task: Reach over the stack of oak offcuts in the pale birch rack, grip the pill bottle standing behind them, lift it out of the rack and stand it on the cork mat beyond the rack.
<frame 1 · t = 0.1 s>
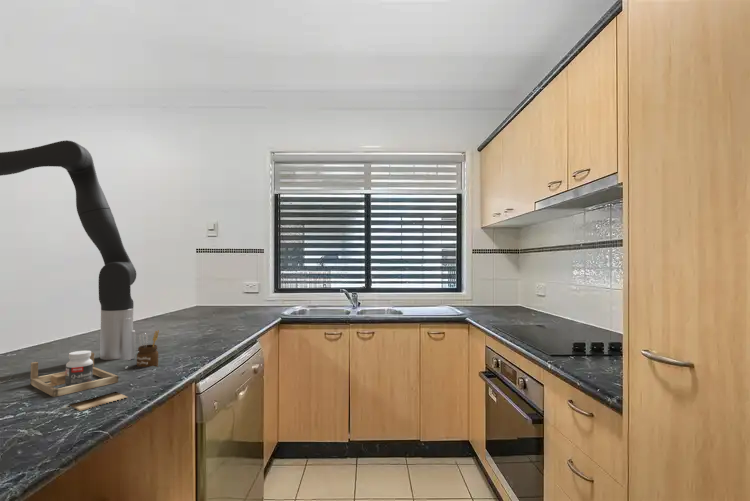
utensil holder: (147, 369, 123), on the counter
offcut bottom: (69, 388, 106), on the counter
pill bottle: (78, 391, 103), on the counter
offcut top: (69, 380, 106), point 1 cm above the counter
rack: (74, 388, 104), on the counter
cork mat: (95, 400, 96), on the counter
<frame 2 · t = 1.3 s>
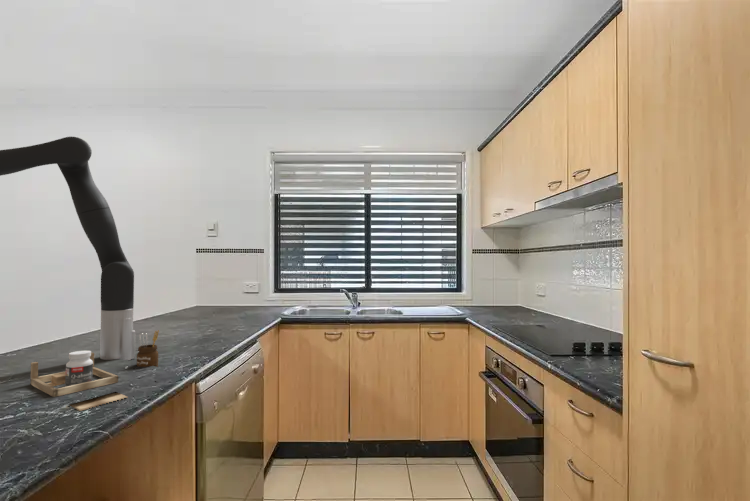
nothing on the counter moved.
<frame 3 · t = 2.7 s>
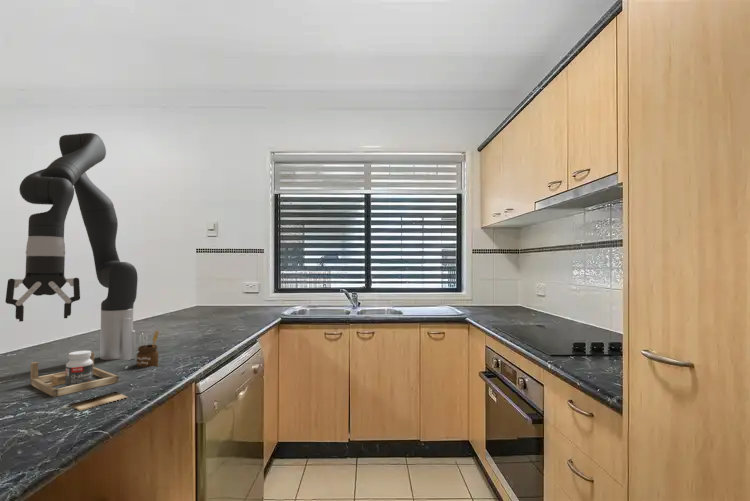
hand: (43, 319, 99), 19 cm above the counter, tool pointing down, fingers open, 8 cm apart
offcut bottom: (68, 388, 106), on the counter, touching offcut top
offcut top: (69, 380, 106), point 1 cm above the counter, touching offcut bottom
everything else where it was.
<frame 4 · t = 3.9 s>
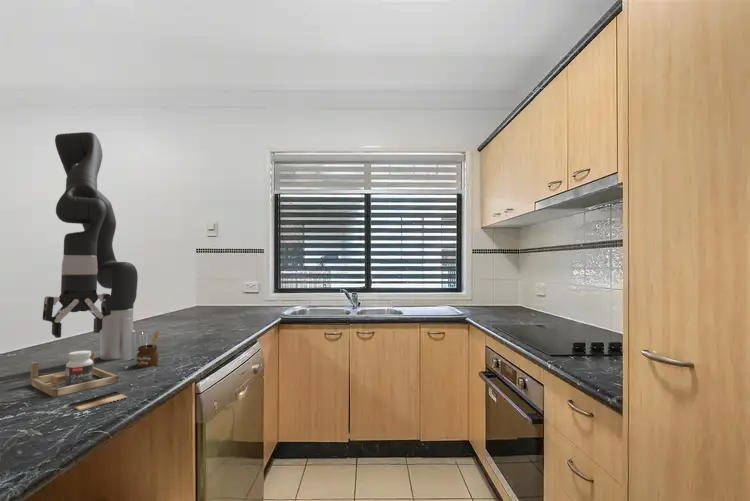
hand: (77, 334, 103), 14 cm above the counter, tool pointing down, fingers open, 8 cm apart
nothing on the counter moved.
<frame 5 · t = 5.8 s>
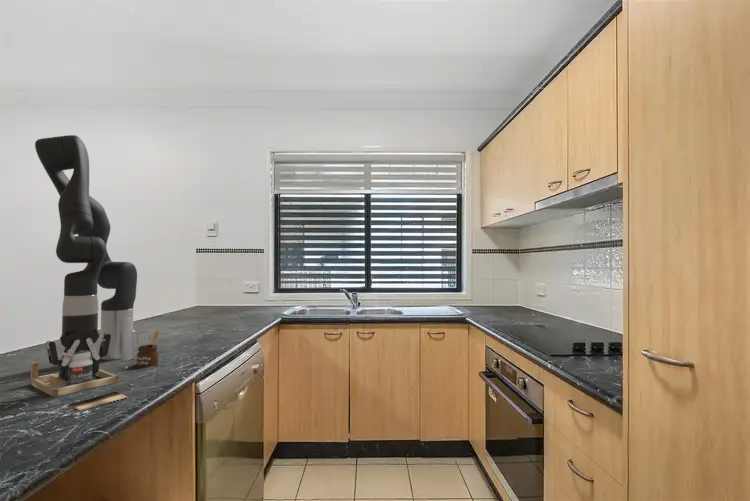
hand: (79, 376, 103), 4 cm above the counter, tool pointing down, fingers closed on pill bottle, 5 cm apart
pill bottle: (78, 391, 103), on the counter, touching gripper
everything else where it was.
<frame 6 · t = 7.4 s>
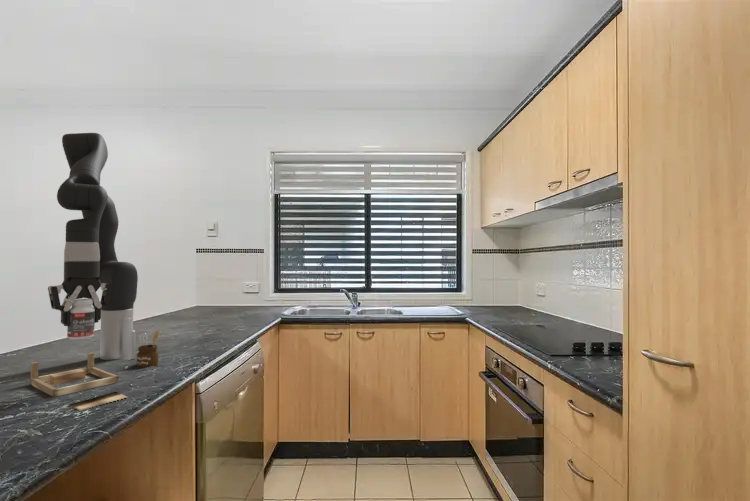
hand: (81, 323, 103), 17 cm above the counter, tool pointing down, fingers closed on pill bottle, 5 cm apart
pill bottle: (81, 338, 103), point 14 cm above the counter, touching gripper
everything else where it was.
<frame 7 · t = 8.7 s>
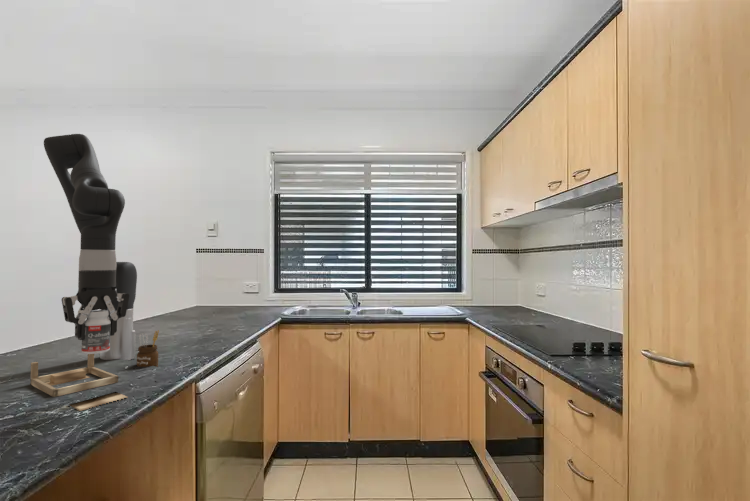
hand: (96, 337, 96), 15 cm above the counter, tool pointing down, fingers closed on pill bottle, 5 cm apart
offcut bottom: (67, 387, 107), on the counter
pill bottle: (95, 352, 96), point 12 cm above the counter, touching gripper
offcut top: (68, 379, 107), point 1 cm above the counter
everything else where it was.
when the fingers open (5 cm above the counter, at t = 11.4 s): pill bottle stays where it is, resting on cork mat.
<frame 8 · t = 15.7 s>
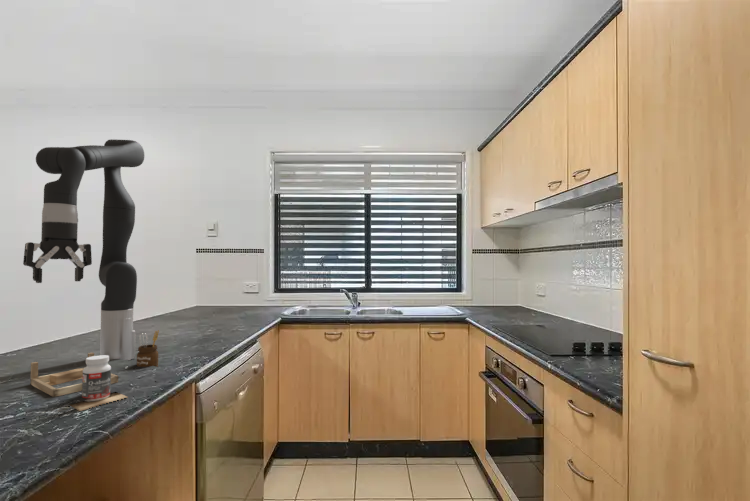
hand: (58, 282, 105), 28 cm above the counter, tool pointing down, fingers open, 8 cm apart
offcut bottom: (67, 386, 107), on the counter, touching offcut top
pill bottle: (96, 398, 96), resting on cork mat
offcut top: (67, 379, 107), point 1 cm above the counter, touching offcut bottom
everything else where it was.
at the end: pill bottle inside the target area (0.2 cm from its centre), resting on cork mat; pill bottle tilted 0°; the gripper is holding nothing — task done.
